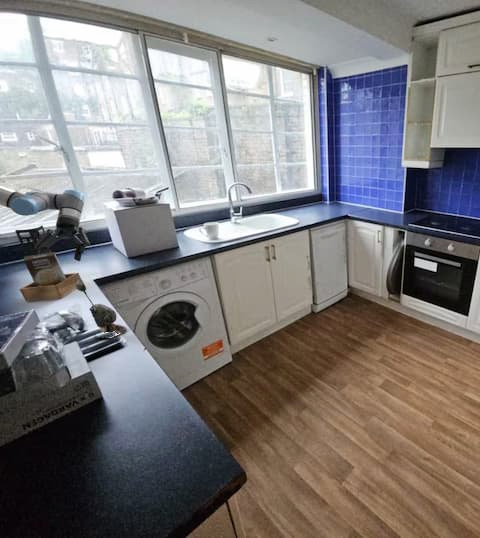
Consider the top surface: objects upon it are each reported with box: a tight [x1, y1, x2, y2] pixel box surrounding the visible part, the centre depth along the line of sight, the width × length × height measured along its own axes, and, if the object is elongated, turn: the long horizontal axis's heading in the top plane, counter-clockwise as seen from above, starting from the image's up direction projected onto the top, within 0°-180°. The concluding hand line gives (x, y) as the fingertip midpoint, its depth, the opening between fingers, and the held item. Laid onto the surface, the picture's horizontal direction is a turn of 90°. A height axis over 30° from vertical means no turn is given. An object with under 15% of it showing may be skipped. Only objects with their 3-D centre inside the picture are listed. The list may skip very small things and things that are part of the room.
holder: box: [15, 224, 53, 257], centre depth 157 cm, size 11×8×20 cm
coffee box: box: [23, 251, 66, 287], centre depth 122 cm, size 9×6×16 cm
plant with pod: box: [76, 278, 128, 335], centre depth 92 cm, size 8×11×20 cm
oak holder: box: [19, 272, 82, 303], centre depth 125 cm, size 13×14×6 cm
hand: (59, 261), depth 130 cm, fingers open, 13 cm apart
